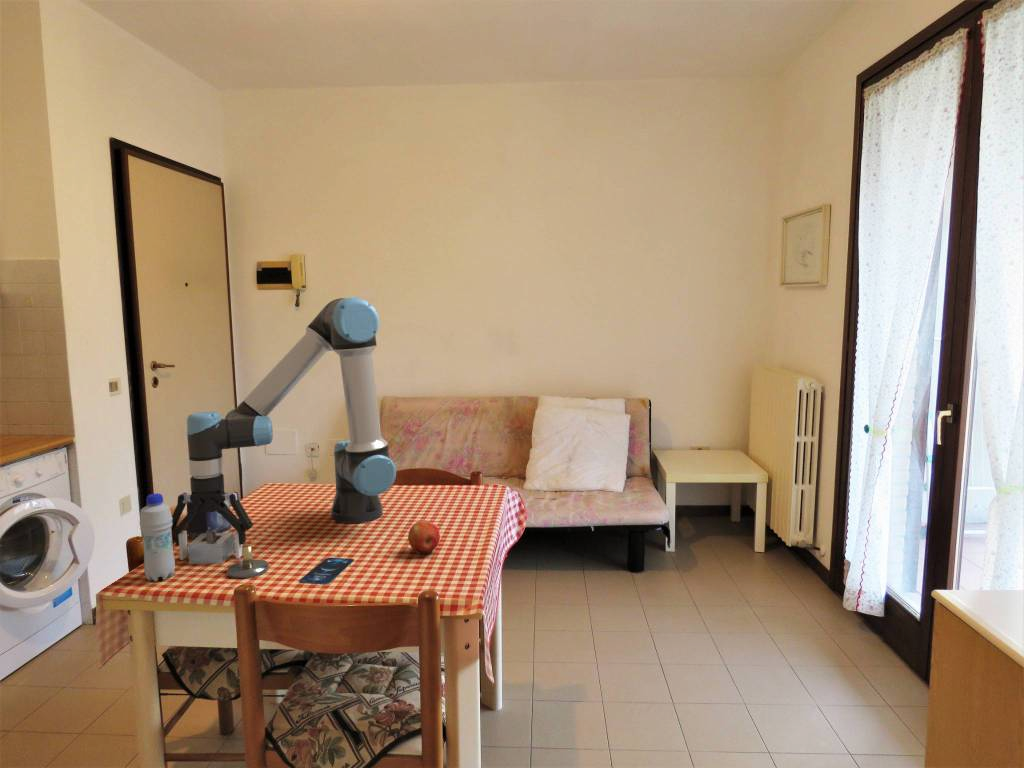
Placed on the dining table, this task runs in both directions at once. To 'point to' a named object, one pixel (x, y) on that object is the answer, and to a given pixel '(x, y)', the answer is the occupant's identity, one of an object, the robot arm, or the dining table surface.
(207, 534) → the stand rod
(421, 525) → the apple
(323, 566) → the smartphone
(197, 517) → the small box
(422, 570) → the dining table surface
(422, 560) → the dining table surface
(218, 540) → the grey hollow block
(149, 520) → the bottle
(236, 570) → the round stand base
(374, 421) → the robot arm
